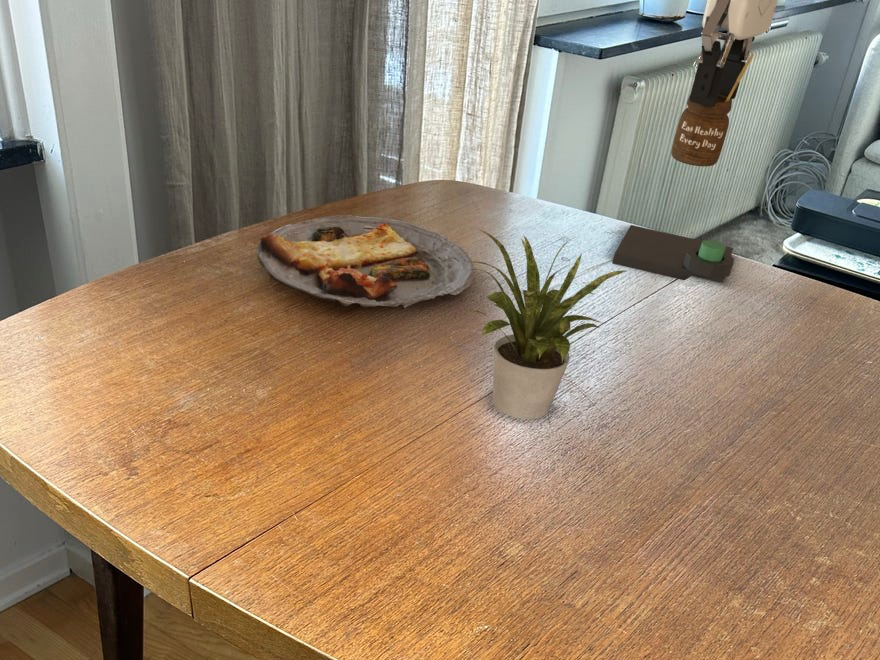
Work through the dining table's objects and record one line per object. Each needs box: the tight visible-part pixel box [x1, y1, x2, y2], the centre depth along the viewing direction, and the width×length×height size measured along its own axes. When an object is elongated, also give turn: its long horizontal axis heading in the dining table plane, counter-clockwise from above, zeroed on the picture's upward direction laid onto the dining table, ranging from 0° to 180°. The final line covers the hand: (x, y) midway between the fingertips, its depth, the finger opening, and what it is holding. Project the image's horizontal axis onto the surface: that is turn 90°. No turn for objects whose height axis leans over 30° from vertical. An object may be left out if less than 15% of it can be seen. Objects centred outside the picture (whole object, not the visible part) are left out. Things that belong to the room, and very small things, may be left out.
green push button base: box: [611, 224, 735, 284], centre depth 123 cm, size 14×13×3 cm
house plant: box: [467, 227, 627, 420], centre depth 86 cm, size 14×14×16 cm
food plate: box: [256, 214, 474, 309], centre depth 110 cm, size 25×23×4 cm
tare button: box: [698, 239, 727, 262], centre depth 119 cm, size 3×3×2 cm
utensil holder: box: [670, 51, 755, 167], centre depth 114 cm, size 6×6×12 cm
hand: (712, 98), depth 113 cm, fingers closed on utensil holder, 5 cm apart
